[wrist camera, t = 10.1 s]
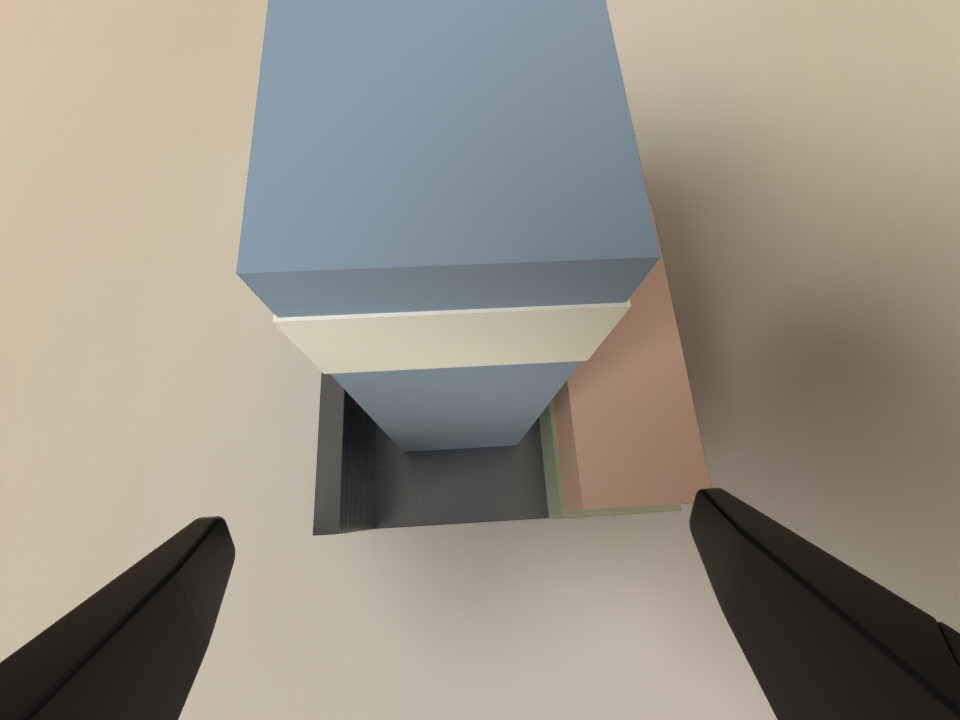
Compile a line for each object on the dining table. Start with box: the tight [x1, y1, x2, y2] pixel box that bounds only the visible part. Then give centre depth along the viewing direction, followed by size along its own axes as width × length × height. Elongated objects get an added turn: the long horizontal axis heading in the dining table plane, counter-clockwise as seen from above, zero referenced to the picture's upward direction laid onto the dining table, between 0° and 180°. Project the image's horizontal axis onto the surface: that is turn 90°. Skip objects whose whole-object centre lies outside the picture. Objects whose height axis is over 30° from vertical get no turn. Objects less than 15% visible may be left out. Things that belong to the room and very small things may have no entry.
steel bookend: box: [313, 373, 549, 535], centre depth 15 cm, size 10×6×5 cm, turn 3°
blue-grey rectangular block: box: [236, 0, 661, 452], centre depth 11 cm, size 5×4×12 cm
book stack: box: [539, 201, 711, 518], centre depth 15 cm, size 10×4×4 cm, turn 3°
